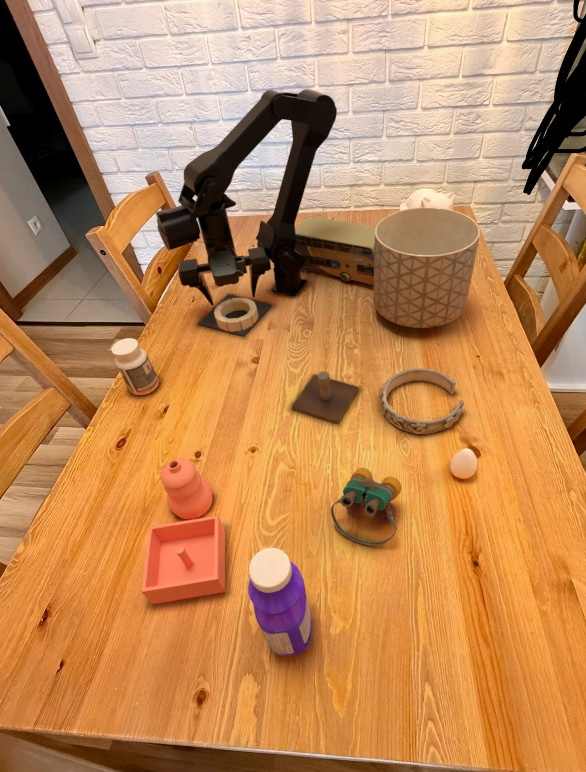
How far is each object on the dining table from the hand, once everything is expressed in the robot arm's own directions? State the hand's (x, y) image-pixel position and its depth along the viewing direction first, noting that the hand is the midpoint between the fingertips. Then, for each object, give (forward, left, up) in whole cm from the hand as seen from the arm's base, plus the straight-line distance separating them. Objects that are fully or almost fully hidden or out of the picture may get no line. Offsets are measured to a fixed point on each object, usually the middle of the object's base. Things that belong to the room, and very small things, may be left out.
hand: (233, 300), depth 102 cm
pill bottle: (+28, -3, -2) cm, 28 cm away
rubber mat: (+2, +1, -2) cm, 3 cm away
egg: (+24, +57, -2) cm, 62 cm away
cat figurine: (-38, +31, -2) cm, 49 cm away
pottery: (+50, +25, -2) cm, 56 cm away
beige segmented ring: (+3, +3, -2) cm, 5 cm away
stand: (+18, +31, -2) cm, 36 cm away
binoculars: (+37, +47, -2) cm, 60 cm away
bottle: (+55, +44, -2) cm, 71 cm away
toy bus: (-23, +16, -2) cm, 28 cm away
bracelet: (+13, +47, -2) cm, 49 cm away
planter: (-13, +38, -2) cm, 41 cm away
